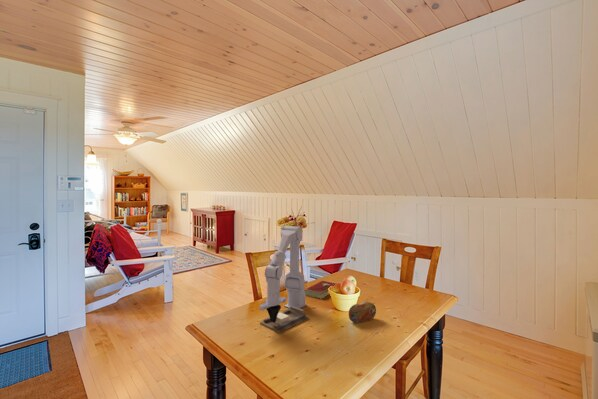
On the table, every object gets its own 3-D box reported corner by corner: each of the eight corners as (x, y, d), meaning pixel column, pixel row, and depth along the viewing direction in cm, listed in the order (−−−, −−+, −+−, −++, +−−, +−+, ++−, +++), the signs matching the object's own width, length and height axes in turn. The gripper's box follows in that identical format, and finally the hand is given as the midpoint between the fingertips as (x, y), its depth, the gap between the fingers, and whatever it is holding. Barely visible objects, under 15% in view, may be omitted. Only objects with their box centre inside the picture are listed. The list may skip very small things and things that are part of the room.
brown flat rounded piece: (351, 325, 135) (351, 307, 135) (347, 322, 138) (347, 304, 138) (376, 319, 142) (376, 301, 142) (371, 316, 145) (372, 299, 145)
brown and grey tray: (290, 310, 150) (290, 303, 150) (309, 318, 141) (309, 310, 141) (259, 323, 135) (260, 315, 135) (279, 333, 127) (279, 324, 126)
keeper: (280, 317, 140) (280, 312, 140) (288, 321, 136) (289, 315, 136) (272, 321, 136) (272, 315, 136) (281, 325, 132) (281, 319, 132)
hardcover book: (304, 295, 173) (304, 288, 173) (321, 286, 191) (321, 279, 191) (321, 300, 167) (321, 292, 166) (338, 290, 184) (338, 283, 184)
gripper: (278, 286, 140) (278, 314, 141) (255, 293, 129) (254, 323, 130) (289, 289, 135) (289, 318, 136) (265, 297, 125) (265, 329, 125)
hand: (273, 321), depth 133 cm, fingers closed
